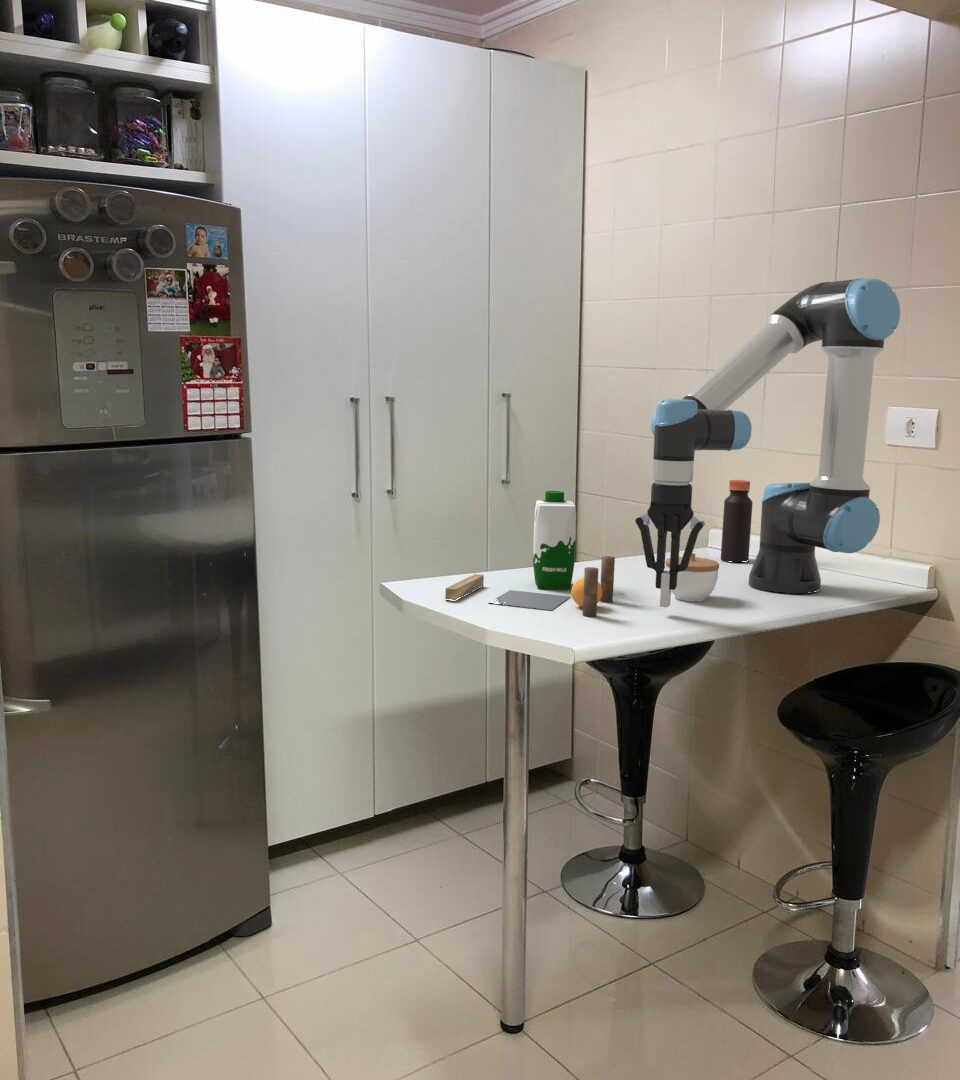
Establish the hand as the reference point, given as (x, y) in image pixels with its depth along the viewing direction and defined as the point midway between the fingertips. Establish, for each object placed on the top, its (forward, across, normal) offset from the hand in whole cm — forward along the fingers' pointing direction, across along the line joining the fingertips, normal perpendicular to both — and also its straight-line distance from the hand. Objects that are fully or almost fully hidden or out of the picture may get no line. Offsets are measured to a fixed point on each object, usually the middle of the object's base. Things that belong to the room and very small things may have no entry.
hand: (665, 605), depth 194 cm
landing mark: (+2, +27, 0) cm, 27 cm away
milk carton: (+2, +27, -16) cm, 31 cm away
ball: (-1, +15, 0) cm, 15 cm away
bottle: (+2, -5, -66) cm, 66 cm away
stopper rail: (+2, +41, 0) cm, 41 cm away
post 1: (+2, +13, +6) cm, 15 cm away
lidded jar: (+2, -2, -18) cm, 18 cm away
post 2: (+2, +13, -7) cm, 15 cm away
